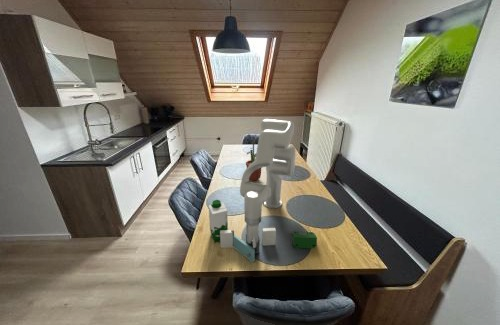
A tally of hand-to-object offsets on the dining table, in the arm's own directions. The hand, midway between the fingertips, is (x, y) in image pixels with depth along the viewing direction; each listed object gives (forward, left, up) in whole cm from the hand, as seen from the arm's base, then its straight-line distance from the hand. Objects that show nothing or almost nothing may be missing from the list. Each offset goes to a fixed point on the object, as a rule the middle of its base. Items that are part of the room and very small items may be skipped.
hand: (252, 247), depth 102 cm
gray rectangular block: (0, 0, -1) cm, 1 cm away
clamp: (-3, +26, -2) cm, 27 cm away
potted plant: (-73, +11, -2) cm, 73 cm away
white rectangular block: (-4, -2, -2) cm, 5 cm away
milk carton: (-11, -16, -2) cm, 20 cm away
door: (+3, -5, -2) cm, 6 cm away
